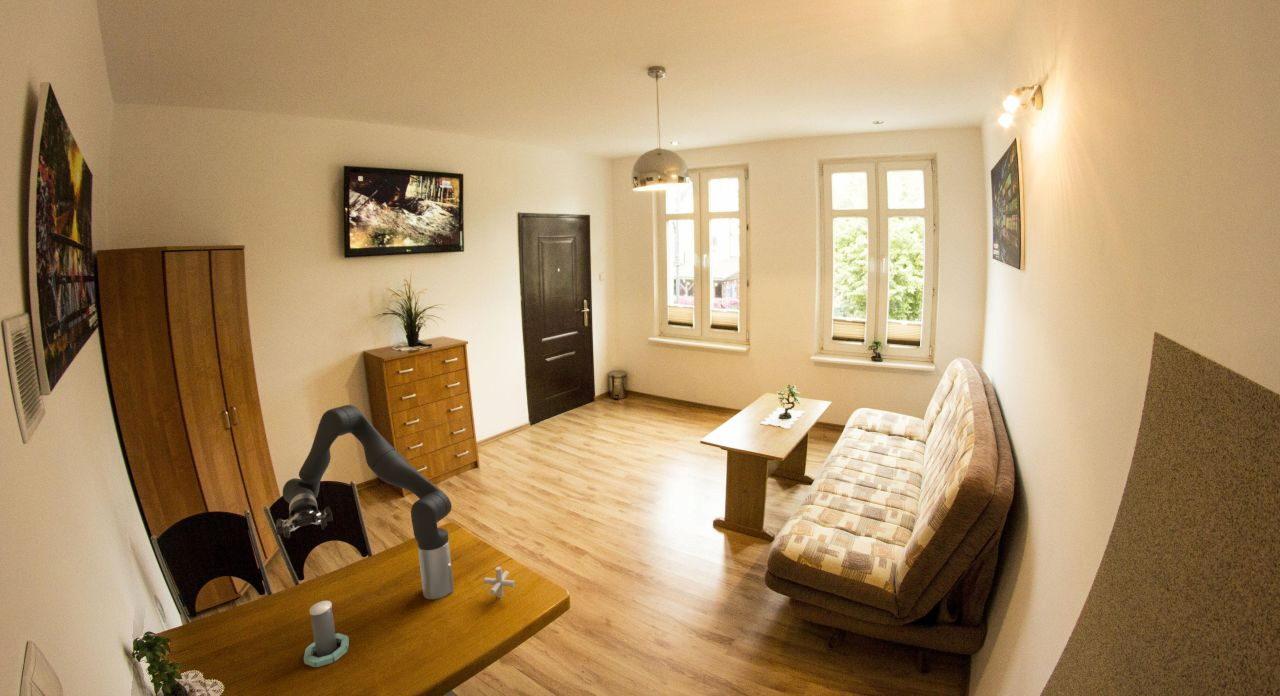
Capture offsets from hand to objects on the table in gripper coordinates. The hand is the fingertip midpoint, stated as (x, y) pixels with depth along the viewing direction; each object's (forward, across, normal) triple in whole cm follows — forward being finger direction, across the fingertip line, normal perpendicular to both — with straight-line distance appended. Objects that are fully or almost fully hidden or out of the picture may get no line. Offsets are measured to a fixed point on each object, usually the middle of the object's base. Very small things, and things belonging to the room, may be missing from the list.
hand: (305, 530), depth 152 cm
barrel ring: (+15, +1, +30) cm, 34 cm away
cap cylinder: (+15, +1, +30) cm, 34 cm away
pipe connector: (+21, +49, +30) cm, 61 cm away
